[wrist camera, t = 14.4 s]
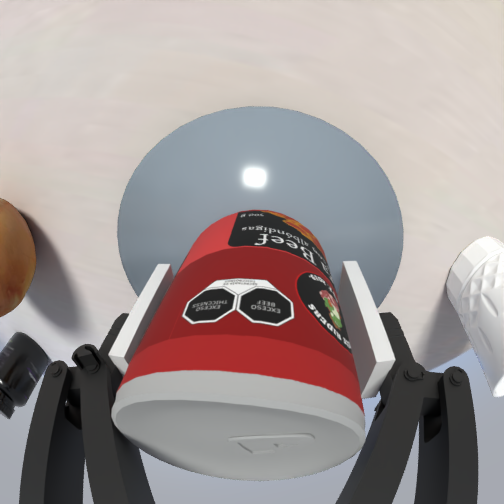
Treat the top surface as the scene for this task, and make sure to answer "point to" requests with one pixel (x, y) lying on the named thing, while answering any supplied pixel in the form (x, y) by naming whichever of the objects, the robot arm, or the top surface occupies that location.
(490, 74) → the top surface
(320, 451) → the canned food
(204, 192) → the plate
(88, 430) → the robot arm
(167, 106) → the top surface
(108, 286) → the top surface
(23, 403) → the supplement bottle
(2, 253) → the onion
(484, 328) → the white cup
